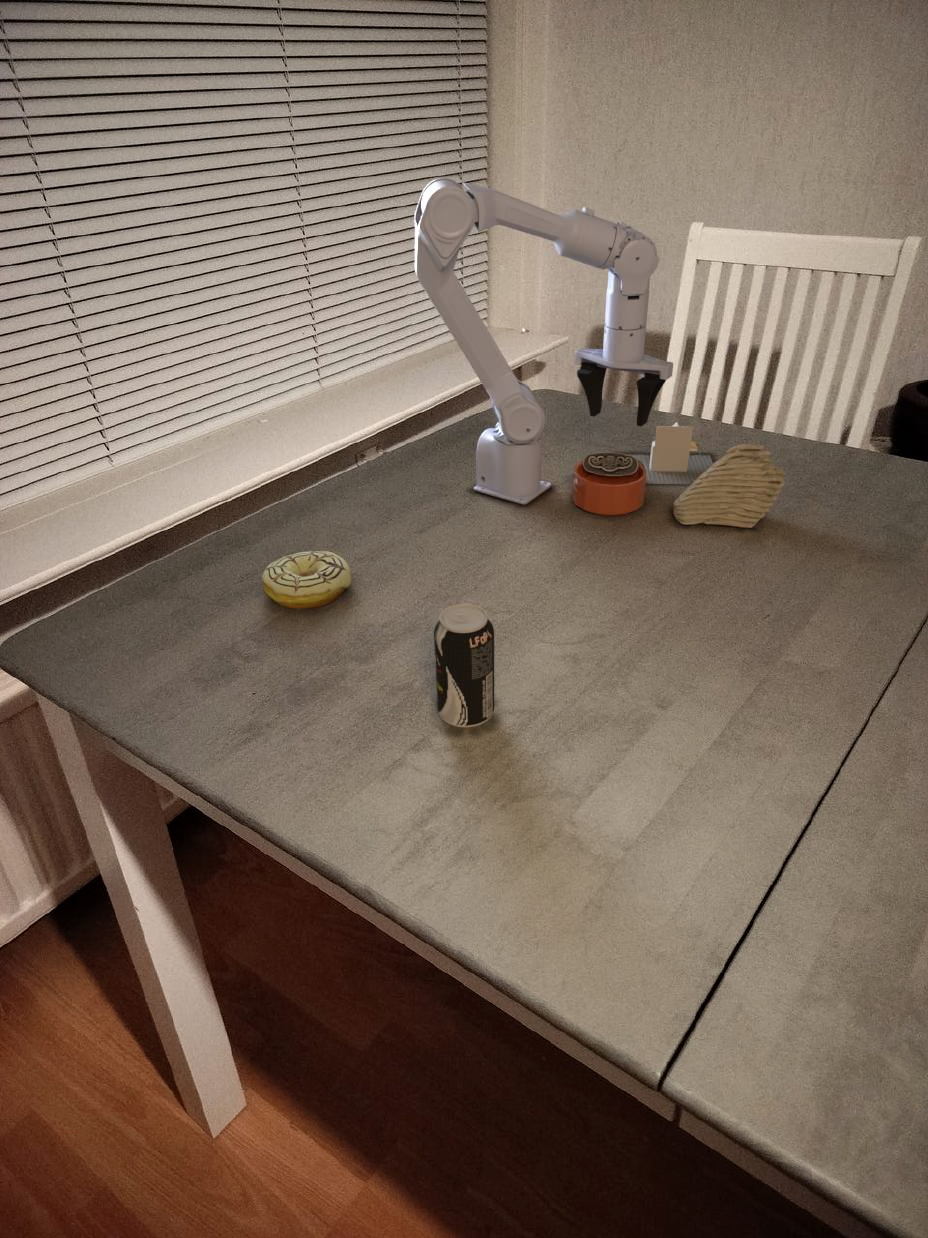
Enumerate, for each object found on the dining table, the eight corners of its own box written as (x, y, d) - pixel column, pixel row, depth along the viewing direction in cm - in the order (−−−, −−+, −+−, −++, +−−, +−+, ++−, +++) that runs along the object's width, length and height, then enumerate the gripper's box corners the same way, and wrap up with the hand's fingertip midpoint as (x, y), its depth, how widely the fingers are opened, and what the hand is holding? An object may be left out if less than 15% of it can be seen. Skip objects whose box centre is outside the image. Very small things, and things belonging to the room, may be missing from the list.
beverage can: (439, 695, 86) (434, 599, 79) (494, 695, 86) (494, 599, 79) (436, 732, 81) (431, 633, 75) (494, 733, 81) (494, 633, 74)
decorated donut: (368, 591, 103) (365, 566, 101) (295, 625, 98) (290, 598, 95) (322, 561, 110) (318, 536, 108) (250, 590, 104) (245, 565, 102)
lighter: (584, 450, 121) (597, 456, 131) (582, 473, 122) (594, 478, 131) (639, 453, 119) (648, 459, 128) (636, 477, 119) (645, 481, 128)
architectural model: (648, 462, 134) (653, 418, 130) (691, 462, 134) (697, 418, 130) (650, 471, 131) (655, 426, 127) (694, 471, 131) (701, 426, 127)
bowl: (559, 506, 122) (561, 475, 119) (593, 481, 129) (595, 451, 126) (623, 524, 117) (626, 492, 114) (654, 497, 124) (658, 466, 121)
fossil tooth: (670, 516, 121) (776, 509, 119) (676, 535, 116) (787, 527, 114) (672, 441, 115) (783, 432, 113) (678, 457, 110) (795, 448, 108)
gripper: (686, 324, 113) (675, 419, 121) (592, 311, 121) (588, 402, 128) (664, 337, 109) (654, 435, 116) (568, 323, 116) (565, 416, 124)
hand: (618, 418), depth 122 cm, fingers open, 7 cm apart
